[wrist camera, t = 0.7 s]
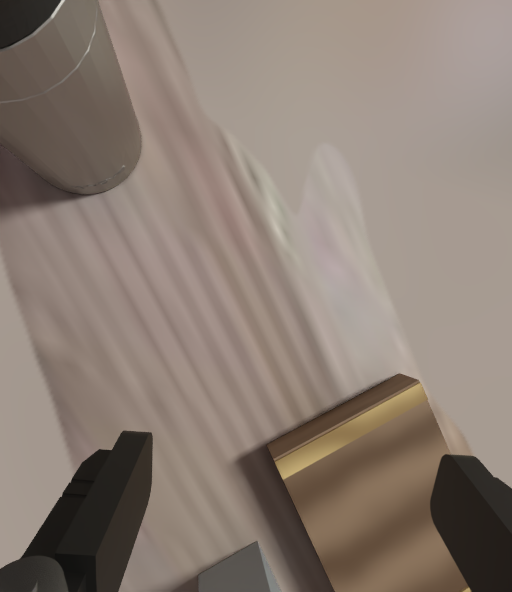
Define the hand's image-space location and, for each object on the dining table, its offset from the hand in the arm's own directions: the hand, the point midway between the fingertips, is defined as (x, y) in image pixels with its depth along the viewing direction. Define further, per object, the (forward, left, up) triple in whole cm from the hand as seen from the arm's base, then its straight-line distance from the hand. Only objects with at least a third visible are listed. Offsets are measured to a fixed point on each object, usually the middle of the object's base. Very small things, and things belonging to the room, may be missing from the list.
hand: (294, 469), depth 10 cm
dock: (+19, +7, -22) cm, 30 cm away
